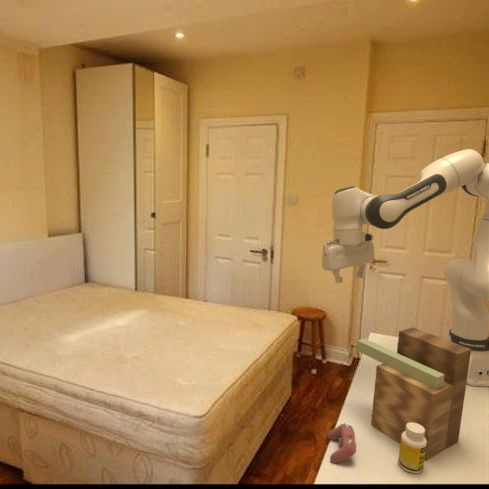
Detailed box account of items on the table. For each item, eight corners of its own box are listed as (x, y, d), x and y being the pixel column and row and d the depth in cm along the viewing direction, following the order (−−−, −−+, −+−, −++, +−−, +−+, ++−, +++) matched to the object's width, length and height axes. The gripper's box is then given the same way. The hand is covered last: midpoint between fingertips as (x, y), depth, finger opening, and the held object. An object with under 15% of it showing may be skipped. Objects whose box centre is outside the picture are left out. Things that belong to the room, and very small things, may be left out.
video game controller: (346, 471, 92) (362, 449, 90) (328, 461, 92) (344, 438, 91) (341, 443, 101) (356, 422, 100) (325, 434, 102) (340, 413, 100)
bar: (356, 350, 113) (357, 340, 113) (363, 348, 115) (364, 338, 114) (435, 389, 93) (437, 377, 93) (443, 386, 95) (444, 374, 94)
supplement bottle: (421, 478, 89) (426, 438, 87) (395, 468, 91) (400, 429, 90) (425, 463, 93) (429, 425, 91) (400, 454, 96) (404, 417, 94)
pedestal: (371, 424, 107) (379, 336, 103) (403, 409, 115) (412, 327, 111) (425, 460, 94) (437, 361, 90) (458, 441, 102) (471, 349, 97)
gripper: (330, 242, 120) (332, 287, 122) (376, 234, 131) (378, 276, 132) (316, 241, 126) (318, 284, 127) (362, 234, 136) (363, 273, 138)
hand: (349, 280), depth 130 cm, fingers open, 8 cm apart
